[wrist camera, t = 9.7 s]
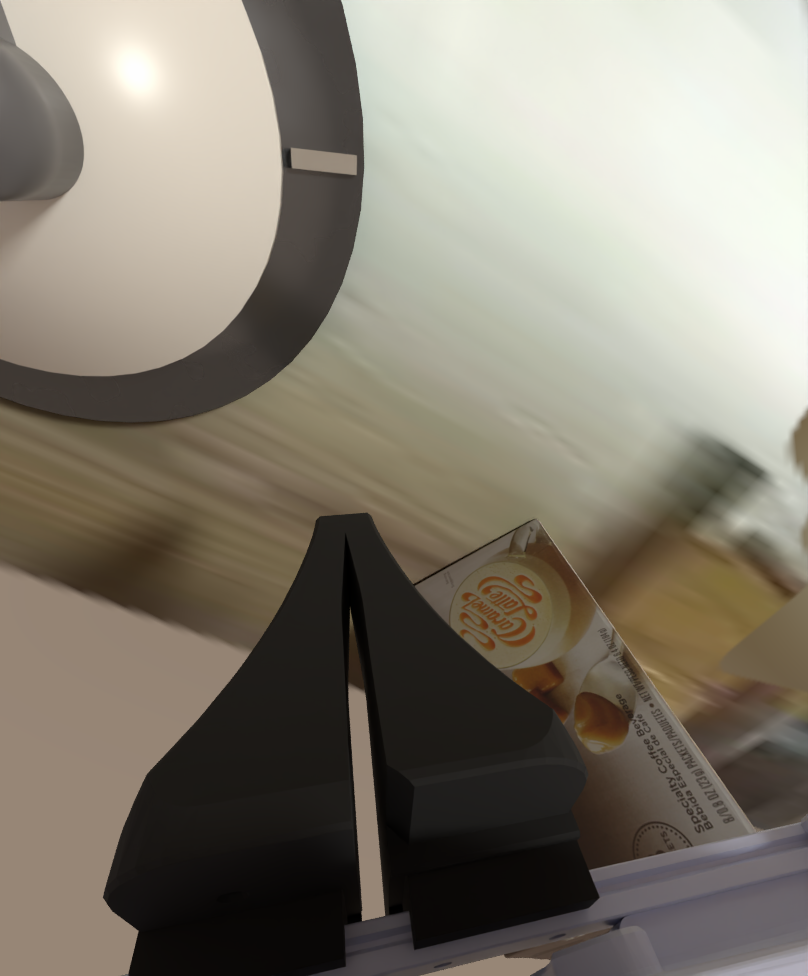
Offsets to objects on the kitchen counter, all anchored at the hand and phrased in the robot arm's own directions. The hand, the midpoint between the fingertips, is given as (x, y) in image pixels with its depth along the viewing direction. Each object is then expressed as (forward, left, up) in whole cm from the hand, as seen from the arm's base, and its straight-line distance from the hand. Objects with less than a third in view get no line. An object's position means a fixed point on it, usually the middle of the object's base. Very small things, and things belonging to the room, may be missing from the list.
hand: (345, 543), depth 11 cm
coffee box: (+10, -12, -10) cm, 18 cm away
